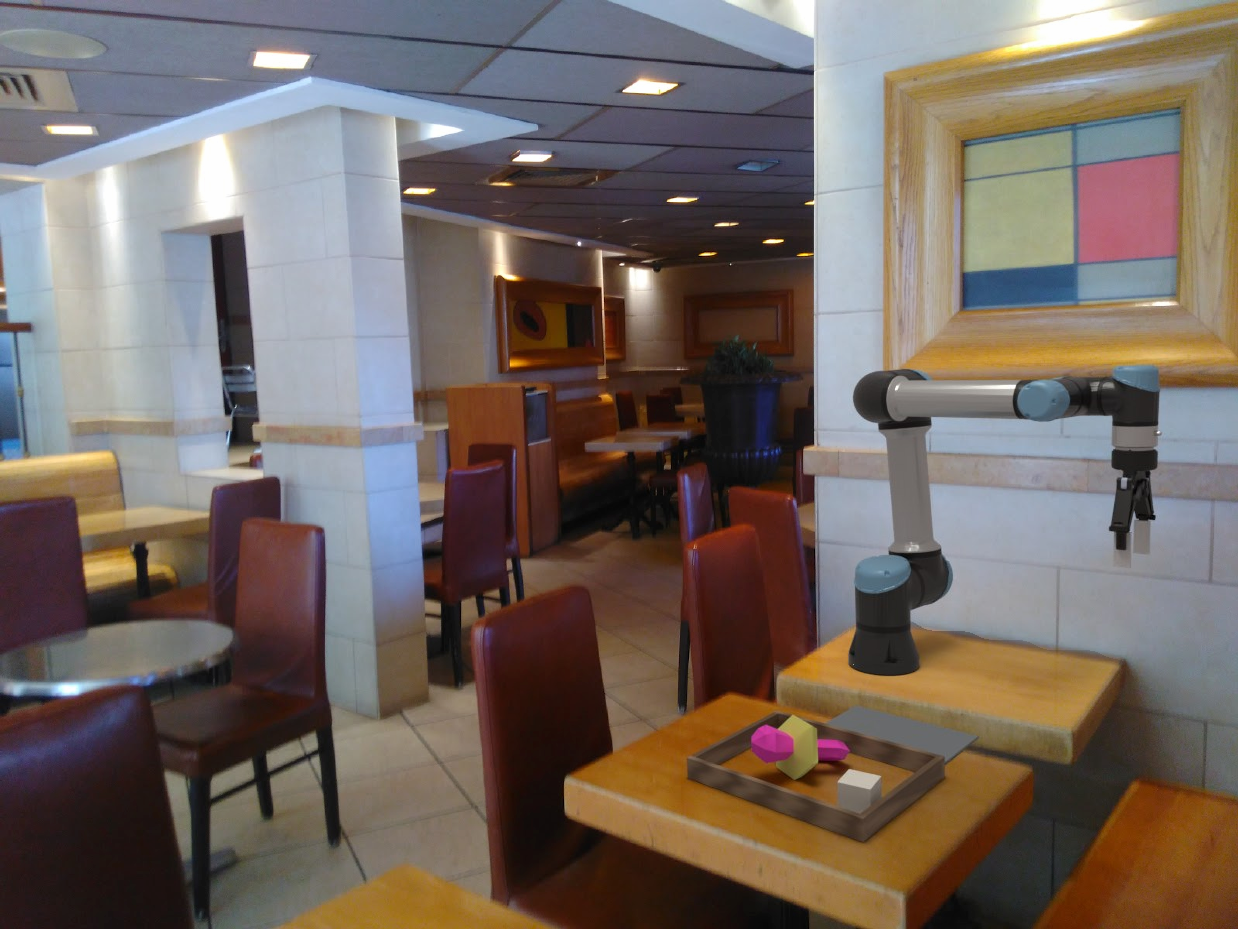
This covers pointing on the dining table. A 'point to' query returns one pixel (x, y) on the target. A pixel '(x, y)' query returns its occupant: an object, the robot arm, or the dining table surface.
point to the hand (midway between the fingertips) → (1132, 560)
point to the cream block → (858, 790)
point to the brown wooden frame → (810, 809)
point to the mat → (904, 731)
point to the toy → (795, 747)
